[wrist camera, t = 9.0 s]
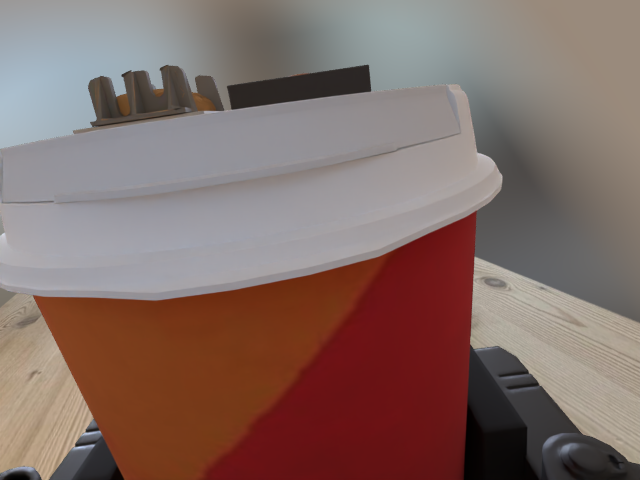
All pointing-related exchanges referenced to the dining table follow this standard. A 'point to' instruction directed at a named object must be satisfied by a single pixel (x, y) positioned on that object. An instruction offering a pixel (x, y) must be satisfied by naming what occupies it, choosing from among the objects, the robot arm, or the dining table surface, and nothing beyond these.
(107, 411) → the paper cup
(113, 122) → the transformer
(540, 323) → the dining table surface
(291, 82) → the coffee maker
